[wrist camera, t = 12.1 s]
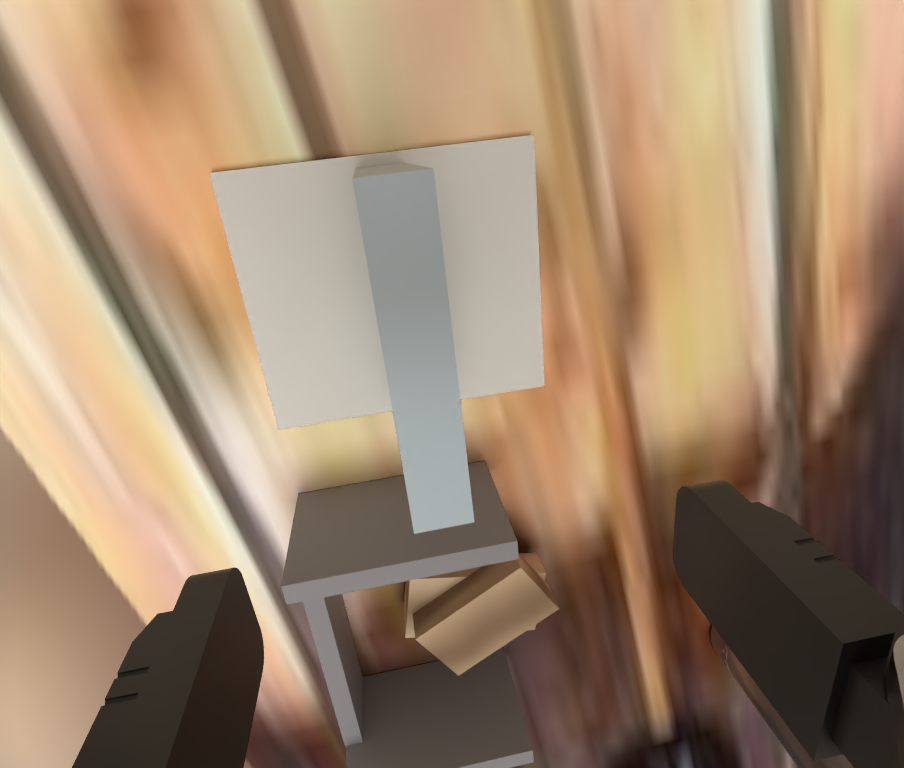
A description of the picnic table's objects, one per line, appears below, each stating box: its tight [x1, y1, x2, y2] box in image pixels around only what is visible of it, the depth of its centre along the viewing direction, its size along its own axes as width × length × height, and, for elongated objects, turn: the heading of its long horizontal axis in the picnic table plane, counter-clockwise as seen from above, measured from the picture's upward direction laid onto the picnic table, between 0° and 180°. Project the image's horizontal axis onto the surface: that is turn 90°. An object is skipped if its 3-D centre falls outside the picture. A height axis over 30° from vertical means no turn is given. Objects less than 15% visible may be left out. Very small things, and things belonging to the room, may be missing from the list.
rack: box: [281, 461, 534, 768], centre depth 35 cm, size 12×18×8 cm, turn 6°
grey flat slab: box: [352, 163, 474, 534], centre depth 24 cm, size 2×13×12 cm, turn 6°
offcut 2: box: [412, 553, 559, 676], centre depth 35 cm, size 5×8×2 cm, turn 126°
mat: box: [209, 135, 544, 430], centre depth 30 cm, size 16×14×1 cm
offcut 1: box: [403, 553, 546, 638], centre depth 37 cm, size 5×9×2 cm, turn 84°
